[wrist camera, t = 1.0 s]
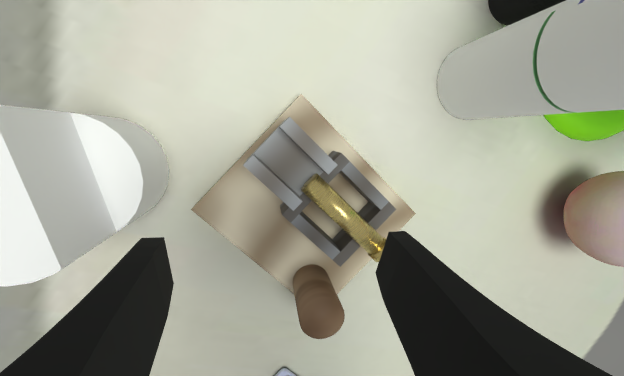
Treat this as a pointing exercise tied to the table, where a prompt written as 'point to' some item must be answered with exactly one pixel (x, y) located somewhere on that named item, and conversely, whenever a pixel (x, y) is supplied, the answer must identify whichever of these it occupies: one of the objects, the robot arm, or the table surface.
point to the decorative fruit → (598, 217)
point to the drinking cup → (518, 9)
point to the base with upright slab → (69, 186)
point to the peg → (317, 302)
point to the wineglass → (588, 124)
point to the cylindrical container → (540, 65)
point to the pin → (344, 216)
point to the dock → (300, 199)
